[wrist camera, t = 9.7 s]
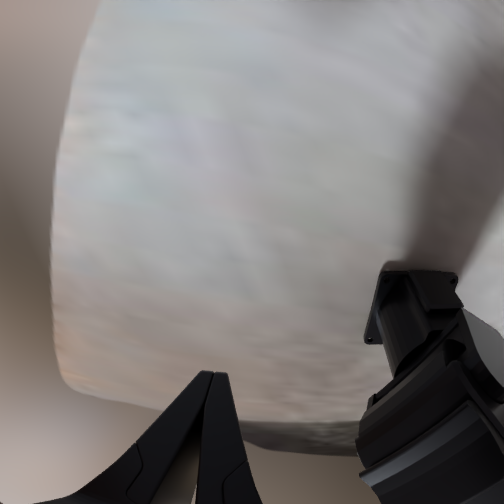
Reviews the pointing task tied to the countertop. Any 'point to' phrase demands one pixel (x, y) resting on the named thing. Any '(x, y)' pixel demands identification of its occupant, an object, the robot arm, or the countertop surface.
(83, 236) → the countertop surface
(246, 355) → the countertop surface
